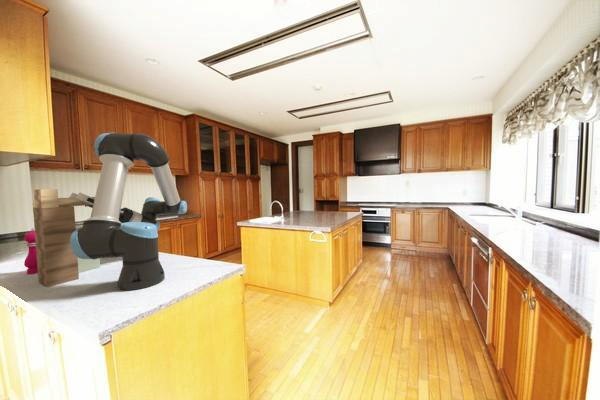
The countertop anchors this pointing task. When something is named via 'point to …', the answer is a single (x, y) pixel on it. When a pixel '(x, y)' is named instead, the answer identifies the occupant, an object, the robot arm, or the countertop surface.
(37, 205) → the tan tall block
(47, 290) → the countertop surface
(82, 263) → the sage box
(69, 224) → the walnut post
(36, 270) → the pepper mill
